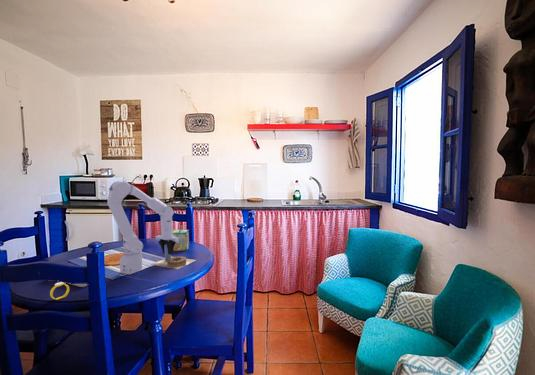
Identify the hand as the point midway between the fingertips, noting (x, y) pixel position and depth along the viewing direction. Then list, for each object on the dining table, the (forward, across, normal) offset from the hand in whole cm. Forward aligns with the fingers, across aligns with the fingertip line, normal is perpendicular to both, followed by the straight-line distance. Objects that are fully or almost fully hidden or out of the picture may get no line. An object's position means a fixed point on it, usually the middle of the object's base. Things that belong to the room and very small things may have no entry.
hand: (167, 253), depth 143 cm
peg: (+3, 0, 0) cm, 3 cm away
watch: (+5, +8, +48) cm, 48 cm away
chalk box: (+5, +10, -20) cm, 23 cm away
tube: (+5, +21, +37) cm, 43 cm away
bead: (+4, -8, +2) cm, 10 cm away
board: (+4, -5, +1) cm, 7 cm away
